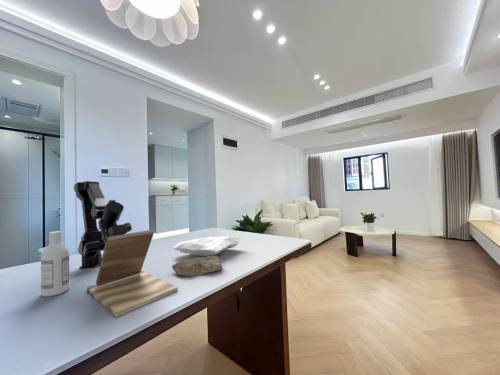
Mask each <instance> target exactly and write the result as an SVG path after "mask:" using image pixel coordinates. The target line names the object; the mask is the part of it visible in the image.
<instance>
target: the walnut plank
mask: <svg viewBox="0 0 500 375" xmlns="http://www.w3.org/2000/svg"><path fill="white" fill-rule="evenodd" d="M154 233H155V232H154V230H153V229H149V230H143V231H136V232H129V233H126V234H123V235H117V236H110V237H107V240H106V244H105V248H104V251H102V260H101V264H100V265H99V268H98V272H97V276H96V280H95V285H97V286H100V285H104V284H107V283H110V282H113V281H117V280H120V279H123V278H126V277H129V276H133V275H136V274H139V273H140V272H141V271H142V270H143V265H144V264H145V260H146V258H147V254H148V252H149V249H150V246H151V243H152V239H153V237H154Z"/></svg>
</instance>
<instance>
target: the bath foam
mask: <svg viewBox="0 0 500 375" xmlns="http://www.w3.org/2000/svg"><path fill="white" fill-rule="evenodd" d="M48 233H49V235H48V236H49V239H48V241H49V243H48V245H47V246H46V247H45V249H44V250H43V251H42V253H41V257H40V291H41V292H40V294H41V296H43V297H44V298H45V297H46V298H47V297H53V296H54V297H55V296H58V295H60V294H64V293H65V292H67V291H68V290H69V289H70V253H69V250H68V247H67V246H65V244H64V243H63V242H62V231H59V230H55V231H50V232H48Z"/></svg>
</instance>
